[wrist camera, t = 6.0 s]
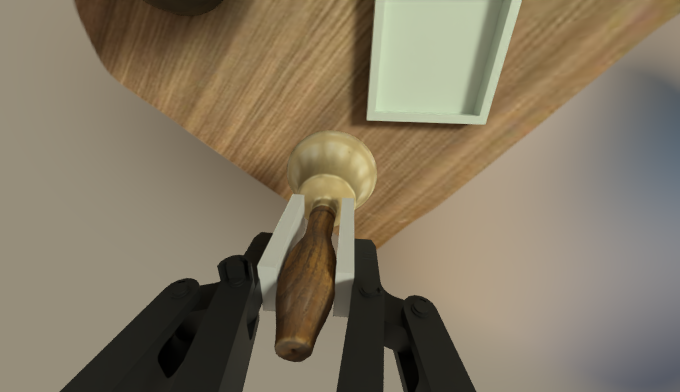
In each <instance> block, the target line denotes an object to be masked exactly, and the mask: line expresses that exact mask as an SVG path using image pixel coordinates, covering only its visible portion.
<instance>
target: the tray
mask: <svg viewBox="0 0 680 392" xmlns="http://www.w3.org/2000/svg"><path fill="white" fill-rule="evenodd" d="M521 1H522V0H374V11H373V25H372V39H371V53H370V66H369V80H368V94H367V108H366V119H367V120H372V121H400V122H429V123H457V124H486V120H487V117H488V113H489V110H490V107H491V103H492V100H493V96H494V93H495V90H496V86H497V83H498V79H499V76H500V73H501V69H502V66H503V62H504V59H505V56H506V52H507V49H508V46H509V42H510V39H511V35H512V32H513V29H514V25H515V22H516V18H517V15H518V12H519V8H520V5H521Z"/></svg>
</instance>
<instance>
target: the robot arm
mask: <svg viewBox="0 0 680 392" xmlns="http://www.w3.org/2000/svg"><path fill="white" fill-rule="evenodd" d="M143 1H145V2H147V3H148V4H150V5H152V6H154V7H157V8H159V9H162V10H165V11H168V12H171V13H174V14H178V15H185V16H193V15H200V14H203V13H206V12H208V11H210V10H212V9H214V8H215V7H216V6H218V5H219V4H220V3H221V2H222V1H223V0H143ZM304 230H305V211H304V195H300V194H292V197H291V199H290V201H289V203H288V205H287V207H286V209H285V211H284V213H283V215H282V217H281V219H280V221H279V223H278V225H277V227H276V229H275V231H274V233H265V232H261V233H260V234H258V235H257V236H256V237H255V238H254V239H253V241H252V242H251V244H250V246H249V247H248V249H247V251H246V252H245V254H244V255H234V256H231V257H228V258H226V259H224V260H223V261H221V262H220V263H219V265H218V266H217V267H218V271H219V276H220V280H221V281H220V282H217V283H212V284H207V285H201V286H200V285H199V283H198V282H197V280H195V279H191V278H186V279H182V280H178V281H176V282H174V283H171V284H170V285H169V286H168V287H166V288H165V289H164V290H163V291H162V292H161V293H160V294H159V295H158V296H157V297H156V298H155V299H154V300H153V301H152V302H151V303H150V304H149V305H148V306H147V307H146V308H145V309H144V310H143V311H142V312H141V313H140V314H139V315H138V316H136V317H135V318H134V319H133V321H131V322H130V323H129V324H128V325H127V326H126V327H125V328H124V329H123V330H122V331H121V332H120V333H119V334H118V335H117V336H116V337H115V338H114V339H113V340H112V341H111V342H110V343H109V344H108V345H107V346H106V347H105V348H104V349H103V350H102V351H101V352H100V353H99V354H98V355H97V356H96V357H95V358H94V359H93V360H92V361H91V362H89V364H87V365H86V366H85V367H84V369H82V370H81V371H80V372H79V373H78V374H77V375H76V376H75V377H74V378H73V379H72V380H71V381H70V382H69V383H68V384H67V385H66V386H65V387H64V388H63V389H62V390H61V391H60V392H242V391H243V386H244V382H245V378H246V373H247V369H248V365H249V361H250V357H251V353H252V349H253V344H254V340H255V336H256V332H257V328H258V323H259V309H260V307H261V304H262V305H263V310H265V311H276V309H275V299H276V291H277V284H278V281H279V278H280V275H281V272H282V269H283V267H284V264H285V262H286V260H287V258H288V256H289V254H290V253H291V251H292V249H293V248H294V247H295V245H296V244H297V243H298V242H299V241H300V240H301V239H302V237H303V233H304ZM333 316H339V317H348V323H347V329H346V335H345V342H344V348H343V354H342V360H341V366H340V373H339V379H338V385H337V392H383V379H384V375H383V373H384V346H385V347H387V348H389V349H392V350H393V352H394V355H395V359H396V363H397V367H398V371H399V375H400V379H401V383H402V387H403V391H404V392H476V390H475V388H474V386H473V384H472V382H471V380H470V378H469V376H468V374H467V371H466V369H465V367H464V365H463V363H462V361H461V359H460V357H459V355H458V353H457V351H456V349H455V347H454V344H453V342H452V340H451V338H450V336H449V334H448V332H447V330H446V328H445V326H444V323H443V321H442V320H441V317H440V315H439V313H438V311H437V309H436V307H435V306H434V305H433V303H432V302H430V301H429V300H428V299H426V298H424V297H422V296H416V295H414V296H409V297H408V298H406V299H405V300H403V299H400V298H397V297H394V296H392V295H390V294H389V293H387V292H386V291H385V290H384V289H383V287H382V285H381V282H380V276H379V269H378V260H377V253H376V246H375V245H374V243H373V242H372V240H366V239H354V198H342V206H341V218H340V230H339V243H338V253H337V265H336V278H335V297H334V308H333Z"/></svg>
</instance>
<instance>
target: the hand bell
mask: <svg viewBox="0 0 680 392" xmlns="http://www.w3.org/2000/svg"><path fill="white" fill-rule="evenodd" d="M287 178H288V182H289V185H290V188H291V190H292V192H293V193H294V194H300V195H304V211H305V218H306V219H307V220H308V226H307V230H306V233H305V235H304V237H303V238H302V239H301V240H300V241H299V242H298V243H297V244H296V245H295V247H294V248H293V249H292V251H291V253H290V254H289V256H288V258H287V260H286V262H285V264H284V267H283V269H282V272H281V275H280V278H279V281H278V284H277V291H276V299H275V309H276V340H275V351H276V354H277V355H278V356H279V357H281V358H283V359H285V360H288V361H293V362H301V361H303V360H305V359H306V358H308V357H309V356H311V354H312V351H313V348H314V345H315V342H316V339H317V337H318V335H319V333H320V330H321V329H322V327H323V325H324V323H325V321H326V319H327V317H328V315H329V312H330V310H331V308H332V305H333V301H334V297H335V278H336V265H337V260H336V255H335V251H334V248H333V245H332V241H331V236H332V231H333V227H334V226H337V225H340V218H341V206H342V198H354V210H355V209H357V208H358V207H360V206H361V205H362V204H363V203H365V202H366V200H367V199H368V198H369V197H370V195H371V194H372V192H373V190H374V188H375V184H376V180H377V169H376V163H375V160H374V158H373V156H372V154H371V152H370V151H369V149H368V148H367V147H366V146H365V145H364V144H363V143H362V142H361V141H360V140H358V139H357V138H356V137H354V136H352V135H350V134H347V133H344V132H340V131H334V130H329V131H321V132H316V133H314V134H311V135H309V136H307V137H306V138H304V139H303V140H302V141H300V142H299V143H298V144H297V145H296V147H295V148H294V150H293V151H292V153H291V155H290V157H289V160H288V164H287Z"/></svg>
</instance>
